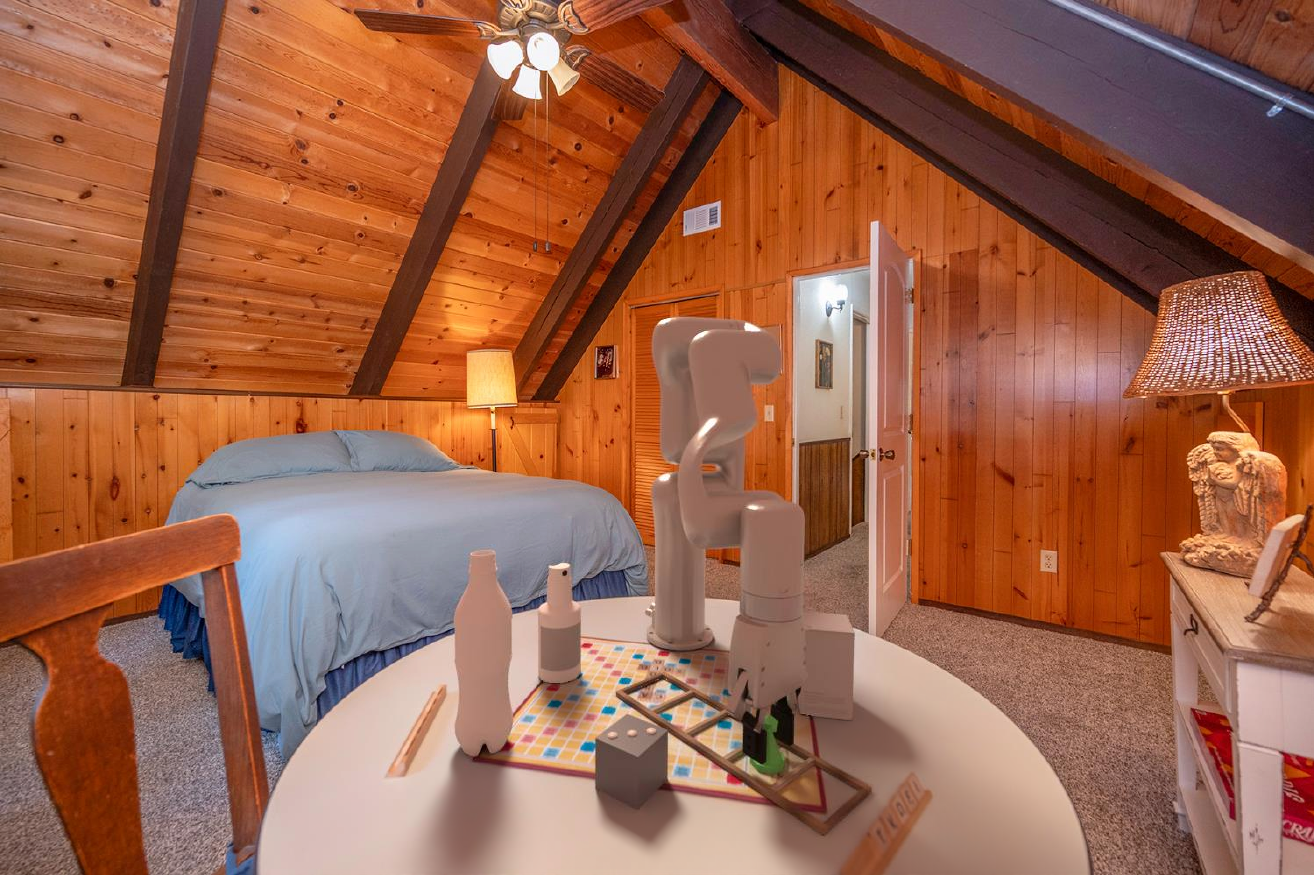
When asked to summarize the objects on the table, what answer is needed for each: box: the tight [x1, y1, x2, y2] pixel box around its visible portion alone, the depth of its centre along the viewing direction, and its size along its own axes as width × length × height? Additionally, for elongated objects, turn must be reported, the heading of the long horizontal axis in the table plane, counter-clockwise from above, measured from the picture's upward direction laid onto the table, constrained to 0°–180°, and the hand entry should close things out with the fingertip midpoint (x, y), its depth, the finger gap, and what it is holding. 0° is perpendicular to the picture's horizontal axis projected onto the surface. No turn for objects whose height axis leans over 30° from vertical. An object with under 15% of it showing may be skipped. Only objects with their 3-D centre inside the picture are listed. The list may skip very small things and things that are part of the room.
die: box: [594, 713, 669, 811], centre depth 63 cm, size 6×6×6 cm
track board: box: [615, 671, 873, 837], centre depth 72 cm, size 36×10×1 cm, turn 41°
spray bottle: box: [537, 562, 582, 684], centre depth 88 cm, size 7×7×18 cm
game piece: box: [749, 714, 786, 775], centre depth 67 cm, size 4×4×6 cm
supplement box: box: [797, 611, 856, 721], centre depth 80 cm, size 7×7×13 cm
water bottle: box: [453, 549, 514, 757], centre depth 69 cm, size 7×7×25 cm
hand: (768, 747), depth 67 cm, fingers open, 4 cm apart
